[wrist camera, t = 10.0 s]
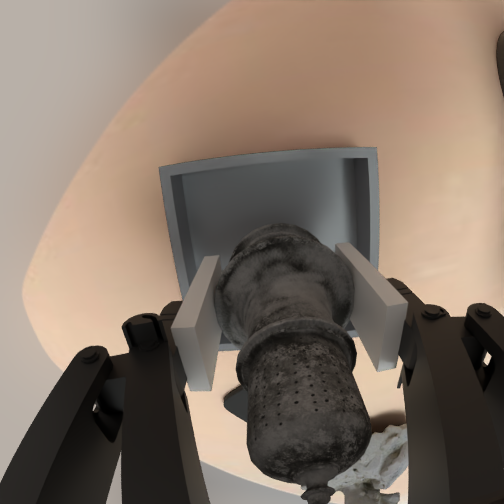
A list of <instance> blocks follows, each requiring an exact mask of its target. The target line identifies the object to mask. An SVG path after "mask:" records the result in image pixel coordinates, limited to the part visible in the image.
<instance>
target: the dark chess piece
mask: <svg viewBox="0 0 504 504" xmlns="http://www.w3.org/2000/svg"><path fill="white" fill-rule="evenodd" d="M354 292H355V288H354V284H353V280H352V276H351V273H350V271H349V270H348V268H347V267H346V265H345V263H344V262H343V260H342V259H341V258H340V257H339V256H338V255H337V254H336V253H335V252H333V251H332V250H331V249H330V248H329V247H328V246H326V245H323V244H321V243H320V241H319V240H318V239H317V238H316V237H315V236H314V235H312V234H311V233H310V232H309V231H308V230H305V229H303V228H301V227H299V226H296V225H292V224H285V223H277V224H268V225H265V226H262V227H260V228H257V229H255V230H253V231H252V232H250V233H249V234H248V235H246V236H245V237H243V239H242V240H241V241H240V242H239V244H238V245H237V246H236V247H235V249H234V251H233V253H232V256H231V258H230V261H229V264H228V265H227V266H226V267H225V269H224V270H223V271H222V273H221V276H220V278H219V280H218V283H217V285H216V288H215V295H214V307H215V313H216V318H217V322H218V324H219V326H220V328H221V330H222V332H223V334H224V335H225V336H226V337H227V338H228V340H229V341H230V342H231V343H232V344H233V345H234V346H235V347H237V348H238V349H240V352H239V354H238V357H237V363H236V373H237V377H238V381H239V382H240V384H241V385H242V387H243V389H244V390H245V391H246V392H248V414H247V447H248V451H249V455H250V459H251V461H252V462H253V464H254V465H255V466H256V467H257V468H258V469H259V470H260V471H261V472H262V473H263V474H265V475H267V476H269V477H271V478H273V479H276V480H279V481H283V482H287V483H296V484H298V485H303V486H306V488H307V489H306V491H305V492H304V493H303V494H302V495H301V498H302V499H303V500H307V501H308V504H327V503H328V502H329V501H330V499H331V497H330V496H332V495H333V494H334V493H335V492H336V491H335V489H334V488H332V487H329V486H328V481H330V480H332V479H333V478H335V477H336V476H337V475H339V474H341V473H343V472H345V471H346V470H347V469H349V468H350V467H351V466H352V465H354V464H355V463H356V462H357V461H359V460H360V458H361V457H362V456H363V455H364V453H365V451H366V449H367V447H368V445H369V443H370V440H371V437H372V431H371V423H370V418H369V415H368V412H367V410H366V407H365V405H364V402H363V399H362V397H361V394H360V391H359V389H358V386H357V384H356V381H355V379H354V376H353V374H352V372H353V369H354V367H355V365H356V356H357V352H356V348H355V344H354V341H353V339H352V338H351V337H350V335H349V334H348V332H347V331H346V330H345V329H344V328H345V327H346V325H347V323H348V322H349V320H350V317H351V314H352V311H353V308H354Z"/></svg>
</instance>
